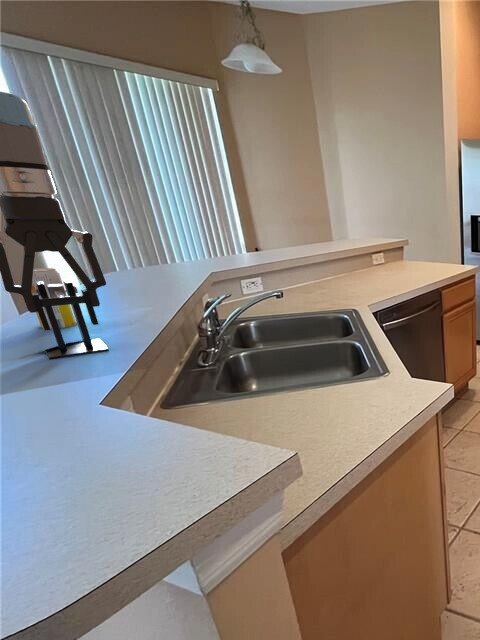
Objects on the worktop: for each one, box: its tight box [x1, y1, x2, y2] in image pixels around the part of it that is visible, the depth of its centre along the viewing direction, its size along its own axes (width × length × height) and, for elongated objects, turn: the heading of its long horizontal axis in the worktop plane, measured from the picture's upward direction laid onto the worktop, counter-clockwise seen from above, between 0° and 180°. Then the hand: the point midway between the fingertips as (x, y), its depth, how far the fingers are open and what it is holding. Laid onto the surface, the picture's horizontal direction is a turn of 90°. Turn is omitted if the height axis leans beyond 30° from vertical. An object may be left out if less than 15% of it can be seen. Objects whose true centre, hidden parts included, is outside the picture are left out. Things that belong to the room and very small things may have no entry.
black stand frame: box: [34, 279, 110, 361], centre depth 91 cm, size 11×9×15 cm
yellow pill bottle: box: [31, 267, 77, 330], centre depth 105 cm, size 6×6×15 cm
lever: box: [40, 284, 86, 307], centre depth 86 cm, size 12×6×2 cm, turn 48°
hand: (71, 325), depth 85 cm, fingers closed on lever, 6 cm apart
